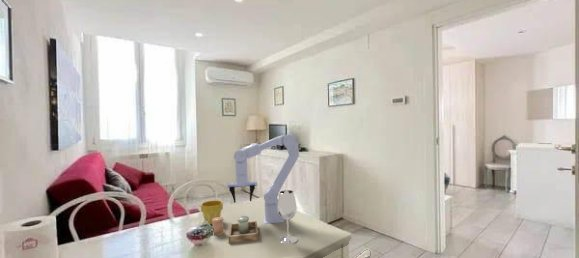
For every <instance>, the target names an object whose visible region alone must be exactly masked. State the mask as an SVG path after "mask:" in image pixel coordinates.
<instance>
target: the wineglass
mask: <svg viewBox="0 0 579 258" xmlns="http://www.w3.org/2000/svg"><path fill="white" fill-rule="evenodd" d="M295 197H296V196H295V193H294V191H293V190H290V189H285V190H280V191H279V194H278V214H279V215H280V217H281V218H283V219H284V221H286V222H285V223H286V235H285V236H283V235H282V236H281V237H280V238H279V239H278V240H279V242H280V243H283V244H293V243H297V241H298V238H297V236H295V235H290V233H289V232H290V230H289V228H290V227H289V222H290V220H292V219H293V218H294V217H295V216H296V214H297V209H298V208H297V207H298V206H297V201H296V198H295Z"/></svg>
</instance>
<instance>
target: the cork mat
mask: <svg viewBox="0 0 579 258" xmlns="http://www.w3.org/2000/svg"><path fill="white" fill-rule="evenodd" d="M225 233H226V229H225V228H223V233H221V234H214V235H213V236H221V235H223V234H225Z"/></svg>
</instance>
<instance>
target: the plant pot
mask: <svg viewBox="0 0 579 258" xmlns="http://www.w3.org/2000/svg"><path fill="white" fill-rule="evenodd" d="M223 204H224V203H223V201H222V200H216V199H215V200H214V199H213V200H208V201H203V202H201V204H200V211H201V212H202V216H203V220H204V222H205V221H208V223H209V224H212V225H211V226H213V222H212V219H213V218H216V217H221V215H222V210H223V209H224V205H223Z"/></svg>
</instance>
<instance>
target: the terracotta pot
mask: <svg viewBox="0 0 579 258" xmlns="http://www.w3.org/2000/svg"><path fill="white" fill-rule="evenodd" d="M223 221H224V217H221V216H220V217H216V218H213V219H212V222H213V225H212V229H213V228H214V234H221V233H223V229H224V222H223ZM223 234H224V233H223ZM221 235H222V234H221Z"/></svg>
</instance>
